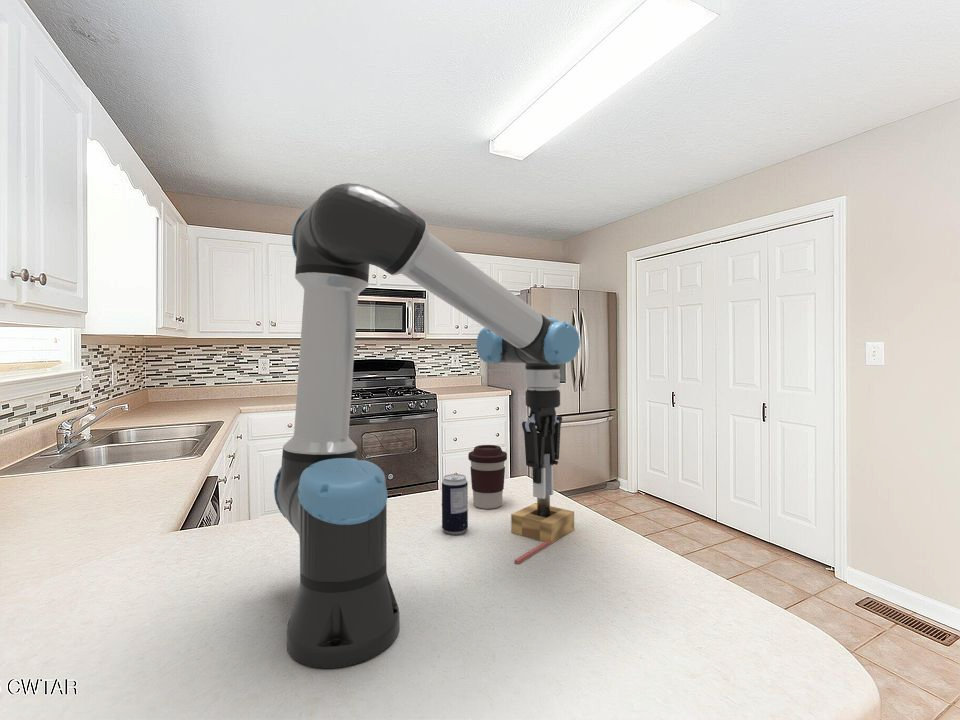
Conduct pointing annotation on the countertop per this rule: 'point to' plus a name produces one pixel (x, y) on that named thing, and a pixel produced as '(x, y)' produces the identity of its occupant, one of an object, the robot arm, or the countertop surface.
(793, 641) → the countertop surface
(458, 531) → the beverage can
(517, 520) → the wooden square frame
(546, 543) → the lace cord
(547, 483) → the grey capsule rod
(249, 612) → the countertop surface
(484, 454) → the coffee cup
